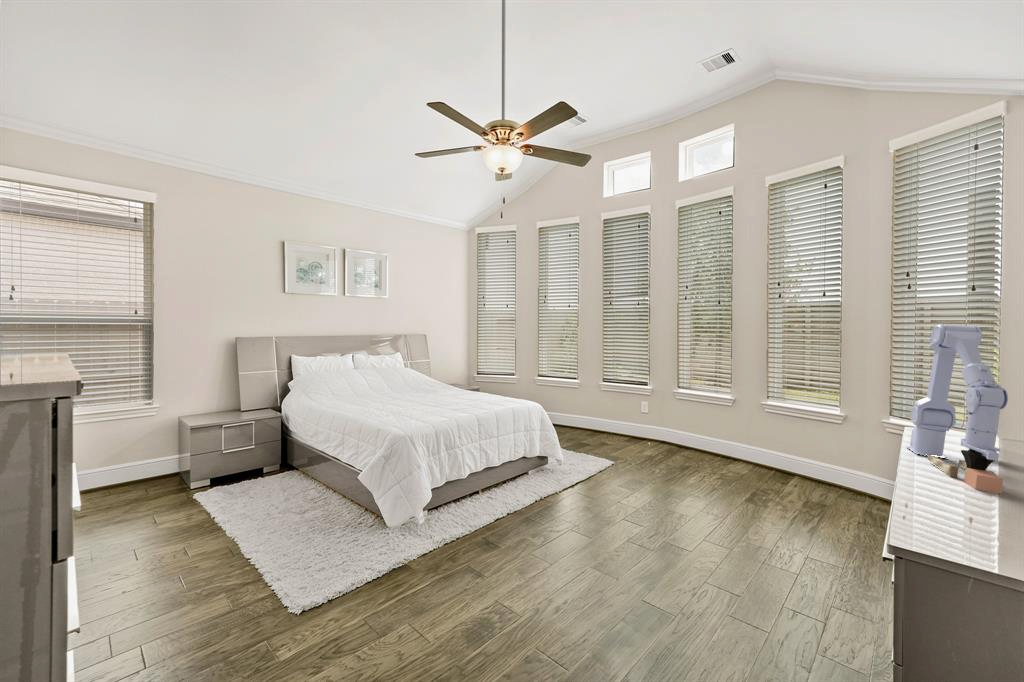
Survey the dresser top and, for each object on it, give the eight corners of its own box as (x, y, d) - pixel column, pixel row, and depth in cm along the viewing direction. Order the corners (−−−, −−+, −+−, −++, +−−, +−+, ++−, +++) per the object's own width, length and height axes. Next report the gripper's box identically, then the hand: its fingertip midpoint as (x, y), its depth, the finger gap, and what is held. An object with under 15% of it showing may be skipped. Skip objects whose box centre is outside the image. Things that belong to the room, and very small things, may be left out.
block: (964, 481, 122) (966, 467, 122) (989, 486, 120) (991, 471, 120) (975, 489, 117) (977, 474, 117) (1001, 493, 115) (1003, 479, 114)
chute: (927, 461, 139) (928, 451, 139) (964, 466, 136) (965, 456, 136) (950, 476, 126) (951, 465, 126) (992, 483, 122) (993, 472, 122)
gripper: (1018, 439, 113) (1010, 490, 114) (986, 426, 126) (979, 472, 127) (980, 434, 116) (973, 484, 117) (953, 422, 129) (947, 467, 130)
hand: (974, 478), depth 122 cm, fingers closed
